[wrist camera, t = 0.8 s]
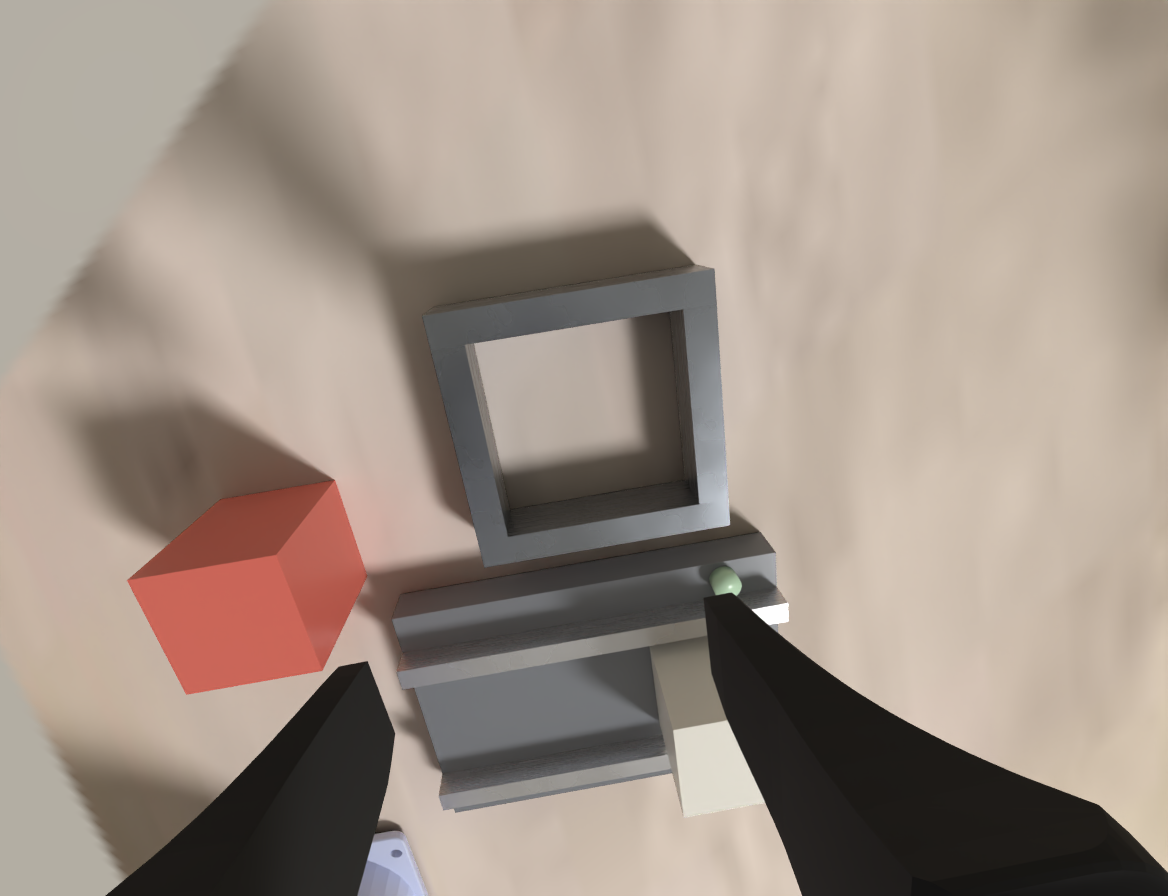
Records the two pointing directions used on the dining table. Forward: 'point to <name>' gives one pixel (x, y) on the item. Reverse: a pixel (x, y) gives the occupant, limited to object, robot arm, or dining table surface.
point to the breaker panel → (564, 665)
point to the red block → (254, 588)
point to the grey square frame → (604, 514)
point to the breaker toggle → (699, 732)
